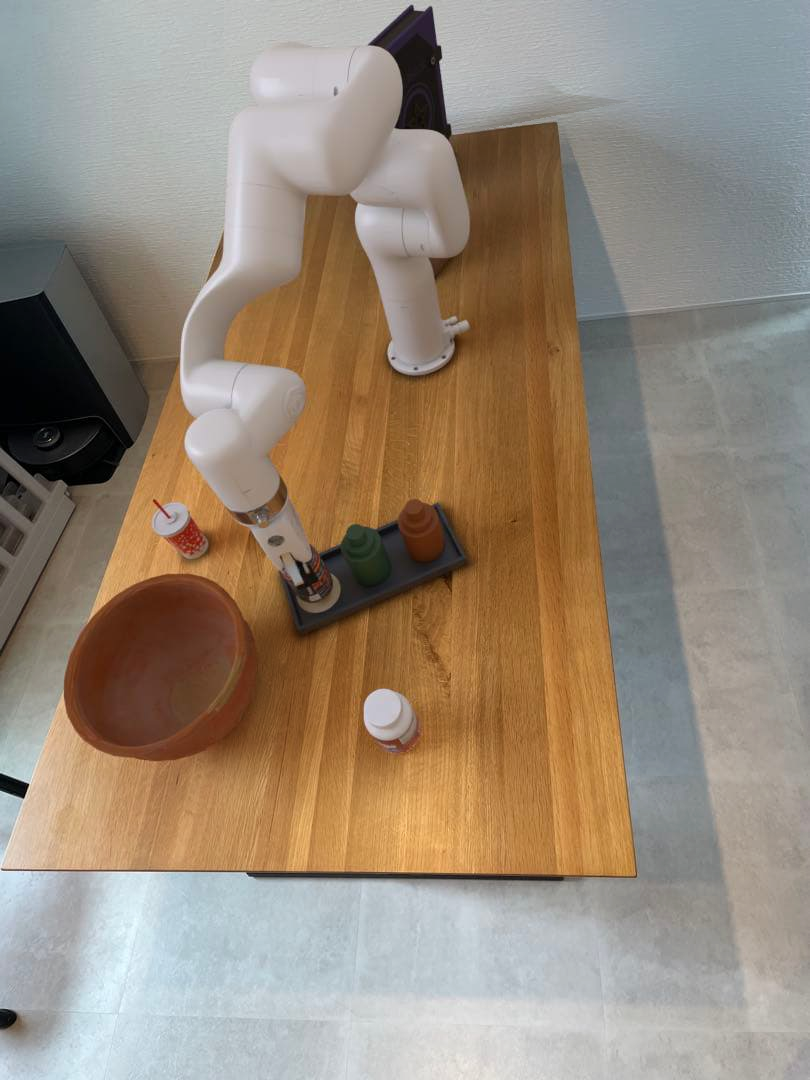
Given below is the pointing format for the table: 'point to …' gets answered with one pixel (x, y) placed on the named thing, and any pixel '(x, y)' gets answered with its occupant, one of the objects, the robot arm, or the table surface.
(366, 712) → the pill bottle
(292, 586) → the supplement bottle
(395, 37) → the book
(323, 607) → the target spot
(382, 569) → the green bottle
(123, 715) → the bowl
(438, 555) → the amber bottle
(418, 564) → the tray
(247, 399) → the robot arm
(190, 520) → the beverage cup
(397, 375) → the table surface
